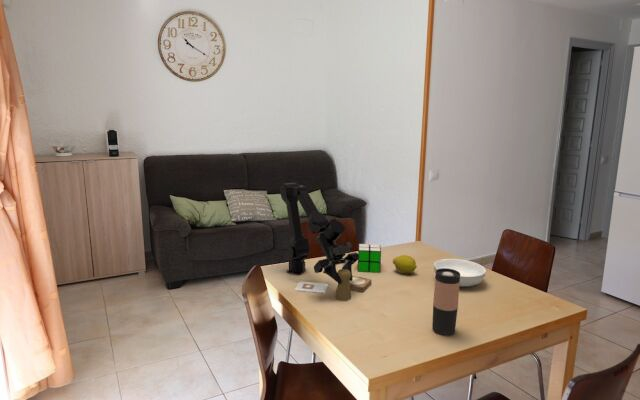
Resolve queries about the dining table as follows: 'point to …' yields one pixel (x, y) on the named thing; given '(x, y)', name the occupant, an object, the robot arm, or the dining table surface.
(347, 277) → the cork
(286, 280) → the dining table surface
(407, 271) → the lemon
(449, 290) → the travel mug
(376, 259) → the puzzle cube
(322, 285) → the white flat piece
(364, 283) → the plinth
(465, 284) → the serving bowl
